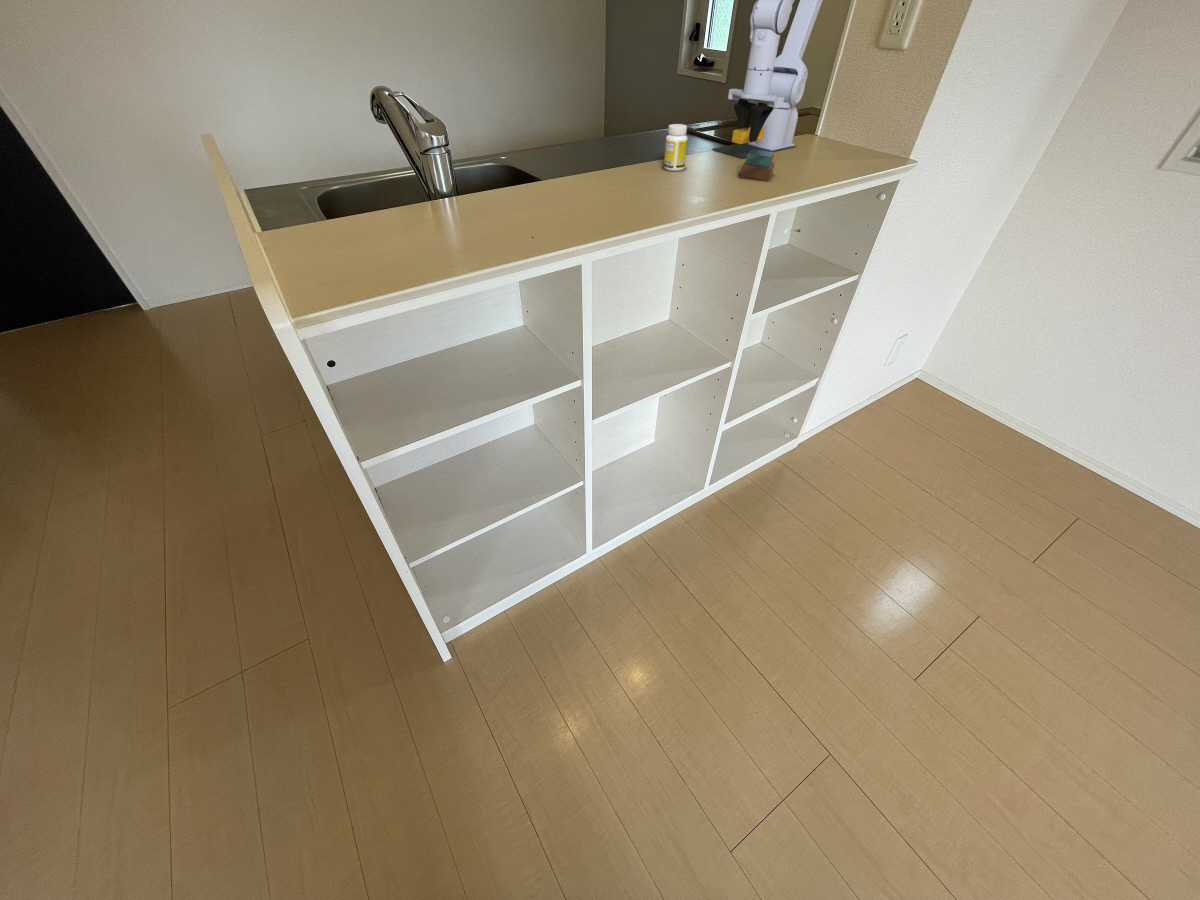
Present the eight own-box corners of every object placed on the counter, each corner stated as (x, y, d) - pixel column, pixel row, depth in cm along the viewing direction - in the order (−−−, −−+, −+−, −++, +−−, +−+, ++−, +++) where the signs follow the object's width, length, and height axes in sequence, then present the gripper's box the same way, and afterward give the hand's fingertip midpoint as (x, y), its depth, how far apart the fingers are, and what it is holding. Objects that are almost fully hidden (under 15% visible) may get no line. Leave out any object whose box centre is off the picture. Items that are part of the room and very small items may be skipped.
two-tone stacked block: (740, 177, 111) (744, 154, 108) (745, 170, 115) (749, 148, 112) (767, 181, 109) (772, 157, 106) (772, 174, 113) (777, 151, 110)
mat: (748, 142, 135) (749, 141, 135) (778, 150, 129) (779, 148, 129) (712, 149, 129) (712, 148, 129) (742, 158, 123) (742, 156, 123)
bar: (740, 144, 119) (742, 132, 117) (731, 141, 121) (733, 130, 119) (762, 139, 123) (764, 128, 121) (753, 137, 124) (755, 126, 123)
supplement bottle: (684, 166, 118) (688, 123, 112) (684, 171, 114) (689, 128, 108) (663, 165, 118) (667, 123, 112) (663, 170, 114) (667, 127, 109)
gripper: (723, 66, 115) (713, 135, 124) (774, 74, 106) (760, 147, 115) (744, 64, 118) (733, 132, 127) (795, 72, 109) (779, 143, 119)
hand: (747, 139), depth 121 cm, fingers closed on bar, 3 cm apart
